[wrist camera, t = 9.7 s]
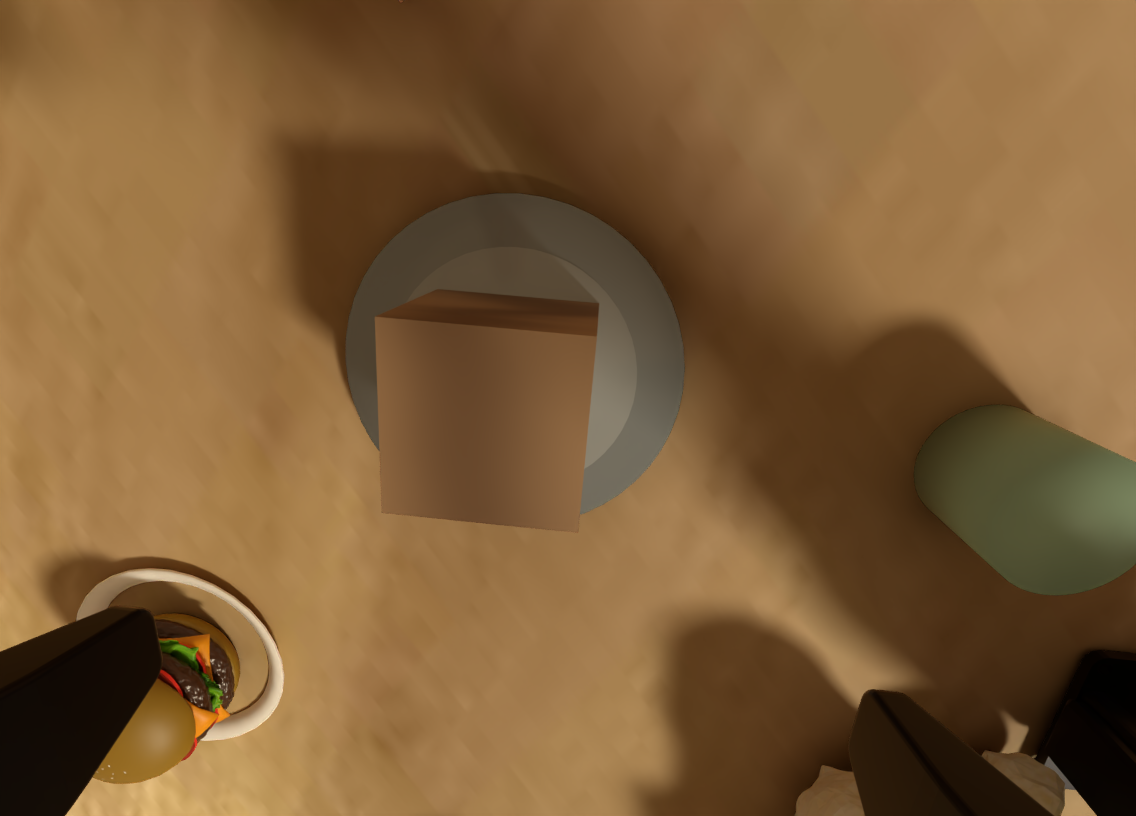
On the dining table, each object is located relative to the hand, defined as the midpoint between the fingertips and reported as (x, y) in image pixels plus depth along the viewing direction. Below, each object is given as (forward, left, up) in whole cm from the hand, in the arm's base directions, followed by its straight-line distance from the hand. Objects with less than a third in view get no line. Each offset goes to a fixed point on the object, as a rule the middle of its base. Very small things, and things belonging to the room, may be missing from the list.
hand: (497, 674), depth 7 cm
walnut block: (+2, -1, -12) cm, 12 cm away
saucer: (+2, 0, -13) cm, 13 cm away
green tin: (-14, +2, -13) cm, 19 cm away
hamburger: (+15, +13, -14) cm, 24 cm away
